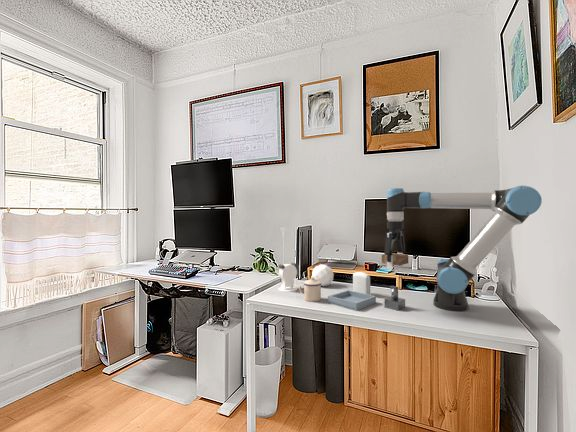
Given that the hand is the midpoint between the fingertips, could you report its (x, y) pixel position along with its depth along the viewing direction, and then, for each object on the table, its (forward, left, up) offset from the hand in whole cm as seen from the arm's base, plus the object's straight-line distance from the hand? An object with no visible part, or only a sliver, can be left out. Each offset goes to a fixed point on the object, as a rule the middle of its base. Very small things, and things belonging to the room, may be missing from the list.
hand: (395, 267), depth 152 cm
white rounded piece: (+61, +13, -20) cm, 65 cm away
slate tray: (+19, +9, -19) cm, 28 cm away
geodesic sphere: (+52, -8, -20) cm, 56 cm away
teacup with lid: (+38, +19, -20) cm, 47 cm away
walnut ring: (0, 0, +2) cm, 2 cm away
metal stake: (0, 0, -19) cm, 19 cm away
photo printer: (+24, -8, -20) cm, 32 cm away
